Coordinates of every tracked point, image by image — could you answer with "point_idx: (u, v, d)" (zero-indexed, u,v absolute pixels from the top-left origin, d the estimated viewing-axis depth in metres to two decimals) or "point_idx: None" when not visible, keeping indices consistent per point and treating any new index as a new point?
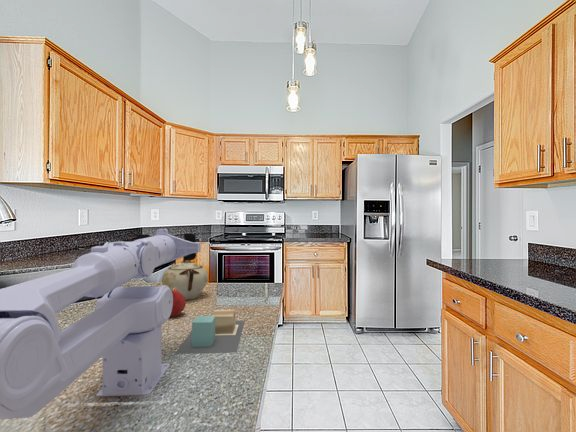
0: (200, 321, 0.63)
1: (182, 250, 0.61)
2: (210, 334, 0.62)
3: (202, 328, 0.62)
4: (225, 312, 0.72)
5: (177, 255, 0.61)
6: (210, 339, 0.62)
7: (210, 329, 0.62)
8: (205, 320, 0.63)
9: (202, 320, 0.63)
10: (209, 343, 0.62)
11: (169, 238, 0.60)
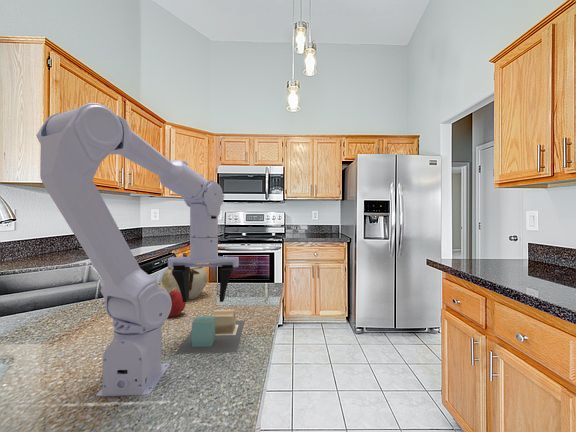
0: (200, 321, 0.63)
1: None
2: (210, 334, 0.62)
3: (202, 328, 0.62)
4: (225, 312, 0.72)
5: None
6: (210, 339, 0.62)
7: (210, 329, 0.62)
8: (205, 320, 0.63)
9: (202, 320, 0.63)
10: (209, 343, 0.62)
11: None
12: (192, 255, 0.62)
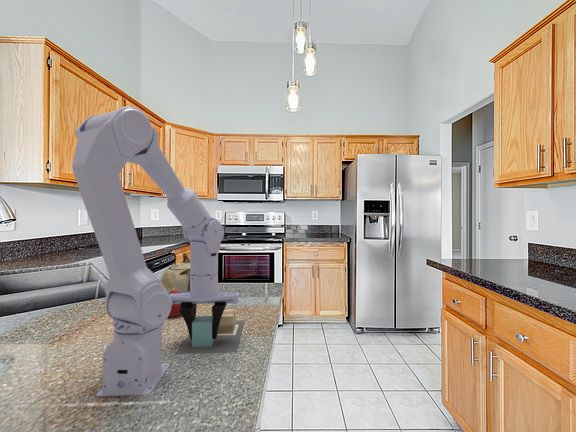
0: (200, 321, 0.63)
1: None
2: (210, 334, 0.62)
3: (202, 328, 0.62)
4: (225, 312, 0.72)
5: None
6: (210, 339, 0.62)
7: (210, 329, 0.62)
8: (205, 320, 0.63)
9: (202, 320, 0.63)
10: (209, 343, 0.62)
11: None
12: (192, 293, 0.62)
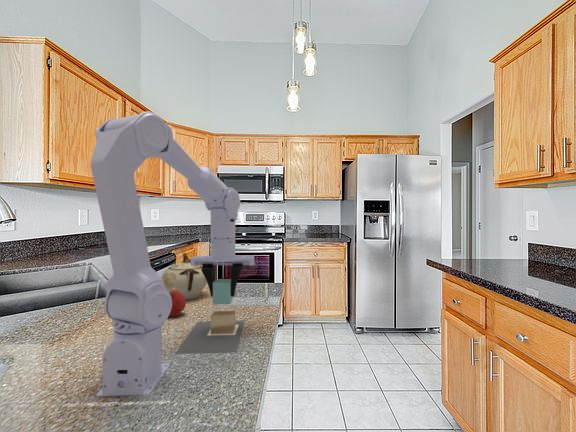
0: (220, 282, 0.70)
1: None
2: (229, 293, 0.69)
3: (222, 288, 0.69)
4: (225, 312, 0.72)
5: None
6: (229, 298, 0.69)
7: (229, 289, 0.69)
8: (225, 281, 0.70)
9: (222, 281, 0.70)
10: (228, 301, 0.69)
11: None
12: (213, 254, 0.69)
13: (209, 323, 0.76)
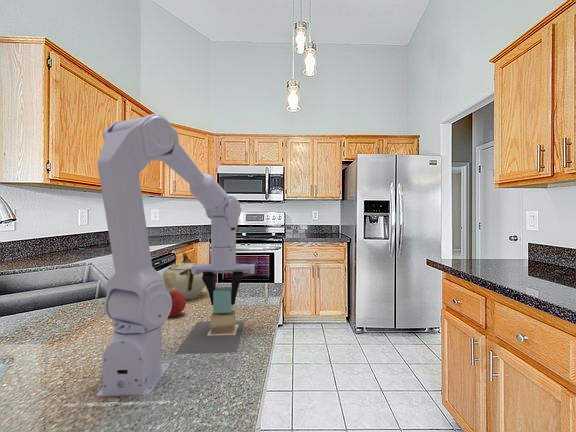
0: (220, 290, 0.70)
1: None
2: (229, 301, 0.69)
3: (222, 296, 0.69)
4: None
5: None
6: (229, 306, 0.69)
7: (229, 297, 0.69)
8: (225, 289, 0.70)
9: (222, 289, 0.71)
10: (228, 310, 0.69)
11: None
12: (213, 263, 0.69)
13: (209, 323, 0.76)
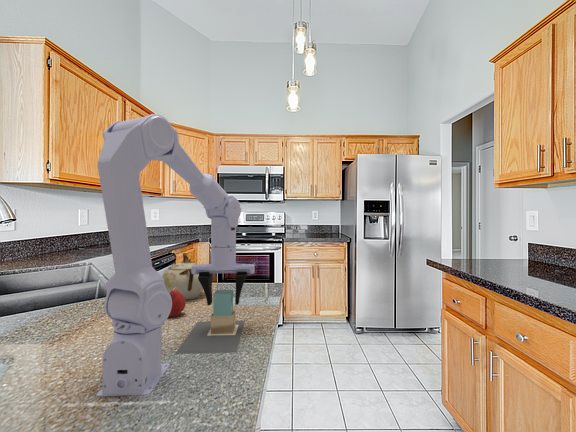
0: (220, 293, 0.70)
1: None
2: (229, 304, 0.69)
3: (222, 299, 0.69)
4: None
5: None
6: (229, 309, 0.69)
7: (229, 300, 0.69)
8: (225, 292, 0.70)
9: (222, 292, 0.70)
10: (228, 313, 0.69)
11: None
12: (213, 263, 0.69)
13: (209, 323, 0.76)
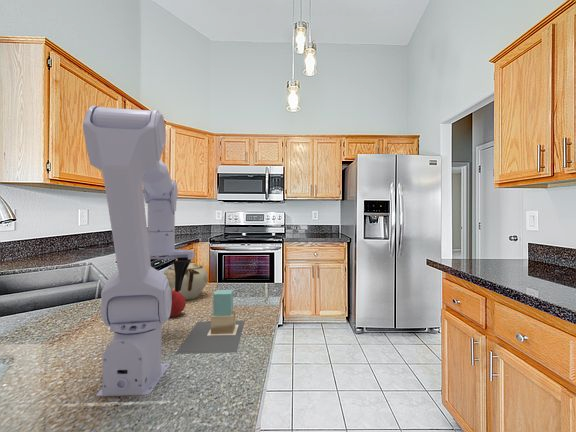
0: (220, 293, 0.70)
1: None
2: (229, 304, 0.69)
3: (222, 299, 0.69)
4: None
5: None
6: (229, 309, 0.69)
7: (229, 300, 0.69)
8: (225, 292, 0.70)
9: (222, 292, 0.70)
10: (228, 313, 0.69)
11: None
12: (149, 248, 0.66)
13: (209, 323, 0.76)
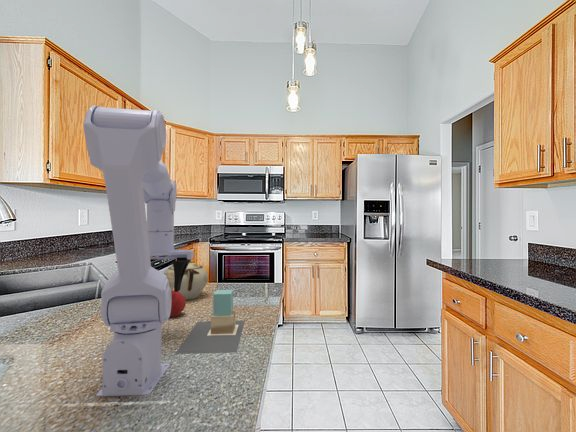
0: (220, 293, 0.70)
1: None
2: (229, 304, 0.69)
3: (222, 299, 0.69)
4: None
5: None
6: (229, 309, 0.69)
7: (229, 300, 0.69)
8: (225, 292, 0.70)
9: (222, 292, 0.70)
10: (228, 313, 0.69)
11: None
12: None
13: (209, 323, 0.76)
